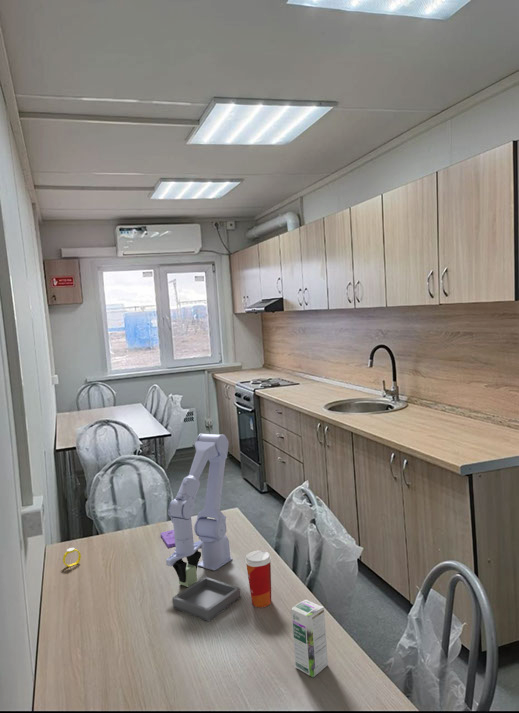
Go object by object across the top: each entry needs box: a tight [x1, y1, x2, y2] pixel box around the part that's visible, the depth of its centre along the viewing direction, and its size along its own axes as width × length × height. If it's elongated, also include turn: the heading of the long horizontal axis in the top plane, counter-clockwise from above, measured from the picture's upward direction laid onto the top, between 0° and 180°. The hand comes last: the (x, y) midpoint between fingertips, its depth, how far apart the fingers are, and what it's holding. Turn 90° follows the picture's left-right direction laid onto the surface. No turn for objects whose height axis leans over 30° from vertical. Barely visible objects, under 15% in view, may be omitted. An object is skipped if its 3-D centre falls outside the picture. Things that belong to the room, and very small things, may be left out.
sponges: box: [159, 528, 176, 548], centre depth 201 cm, size 7×13×2 cm, turn 24°
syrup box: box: [290, 599, 329, 678], centre depth 122 cm, size 6×6×14 cm
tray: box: [172, 576, 242, 622], centre depth 153 cm, size 14×14×3 cm
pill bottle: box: [244, 550, 272, 609], centre depth 151 cm, size 8×8×14 cm
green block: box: [178, 563, 198, 588], centre depth 165 cm, size 4×4×5 cm
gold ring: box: [62, 547, 82, 568], centre depth 185 cm, size 6×3×6 cm, turn 131°
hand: (187, 578), depth 165 cm, fingers closed on green block, 4 cm apart
